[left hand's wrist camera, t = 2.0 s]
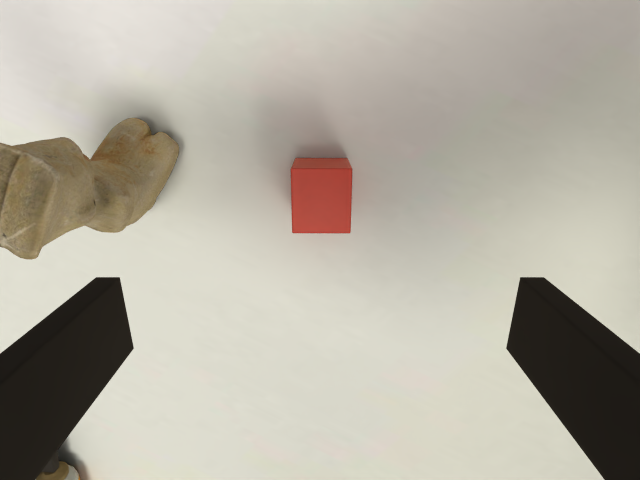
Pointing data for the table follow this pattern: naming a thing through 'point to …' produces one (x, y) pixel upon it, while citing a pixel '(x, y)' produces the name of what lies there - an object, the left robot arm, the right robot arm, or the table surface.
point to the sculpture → (80, 185)
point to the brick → (321, 195)
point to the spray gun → (58, 470)
